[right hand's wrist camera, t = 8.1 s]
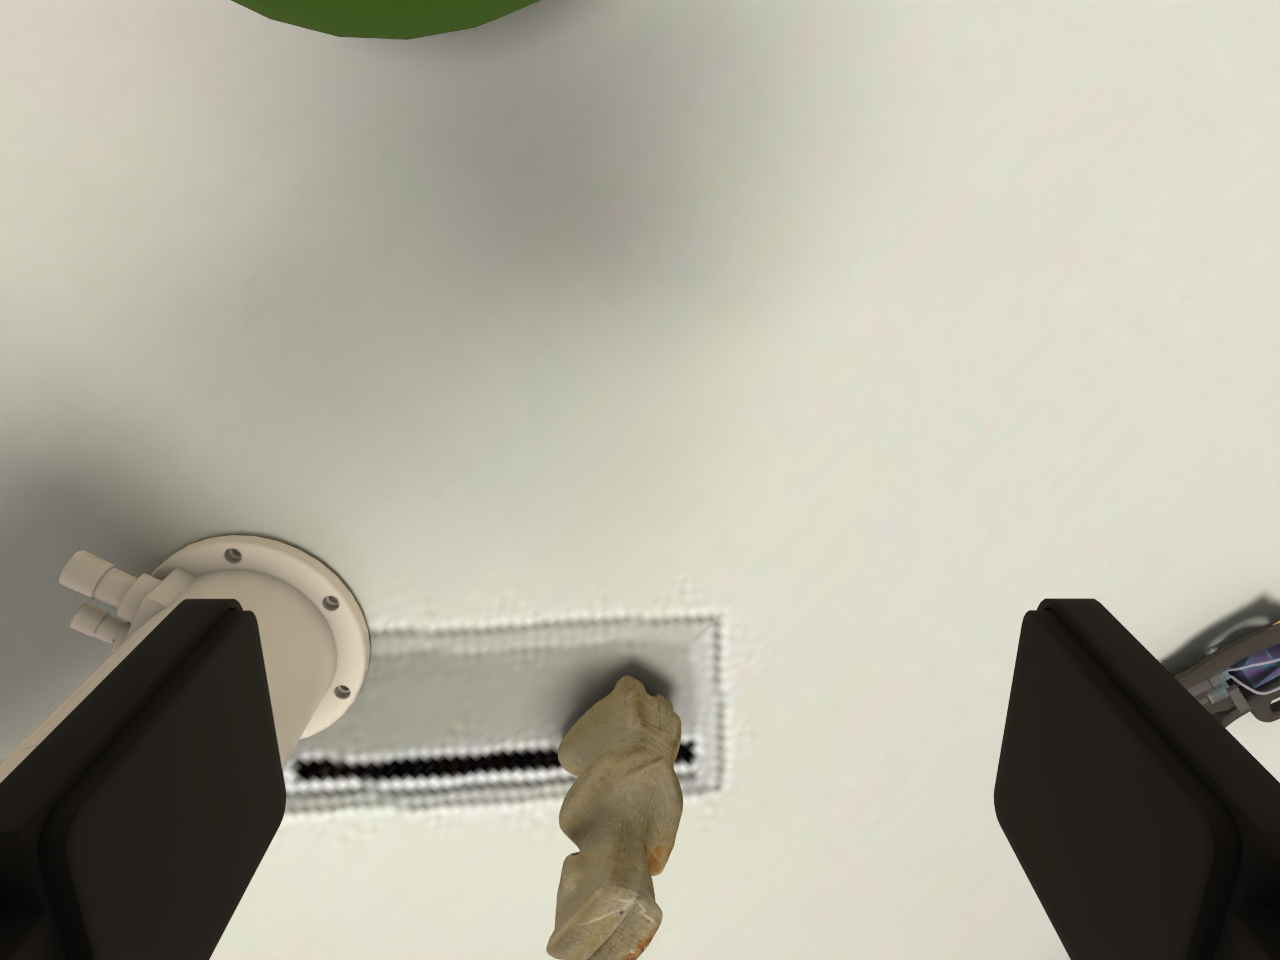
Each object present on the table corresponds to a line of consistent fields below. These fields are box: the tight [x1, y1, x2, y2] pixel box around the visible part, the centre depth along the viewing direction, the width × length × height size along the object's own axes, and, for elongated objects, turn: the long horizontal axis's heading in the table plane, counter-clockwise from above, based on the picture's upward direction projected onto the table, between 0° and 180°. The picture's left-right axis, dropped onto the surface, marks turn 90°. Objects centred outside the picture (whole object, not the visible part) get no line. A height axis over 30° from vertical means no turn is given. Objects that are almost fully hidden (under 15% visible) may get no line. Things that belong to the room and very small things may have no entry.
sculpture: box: [547, 675, 683, 960], centre depth 45 cm, size 6×7×15 cm
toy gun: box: [1174, 620, 1280, 728], centre depth 50 cm, size 3×19×10 cm
